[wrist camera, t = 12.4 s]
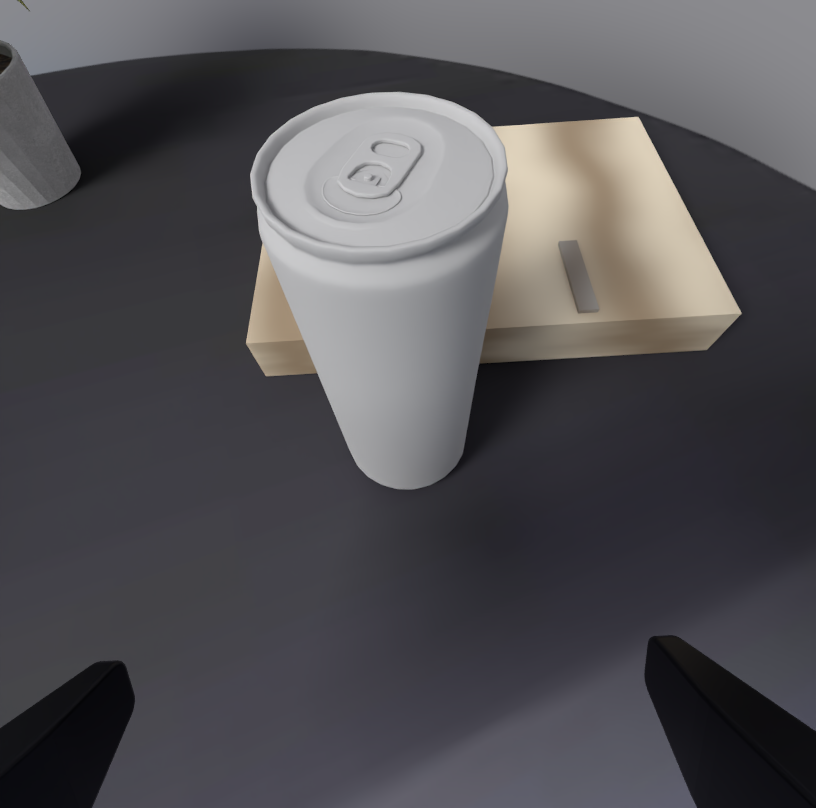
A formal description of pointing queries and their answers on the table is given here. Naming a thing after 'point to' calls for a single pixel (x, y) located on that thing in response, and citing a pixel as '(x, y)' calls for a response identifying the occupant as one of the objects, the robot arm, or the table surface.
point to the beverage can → (388, 266)
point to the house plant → (29, 141)
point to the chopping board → (568, 257)
